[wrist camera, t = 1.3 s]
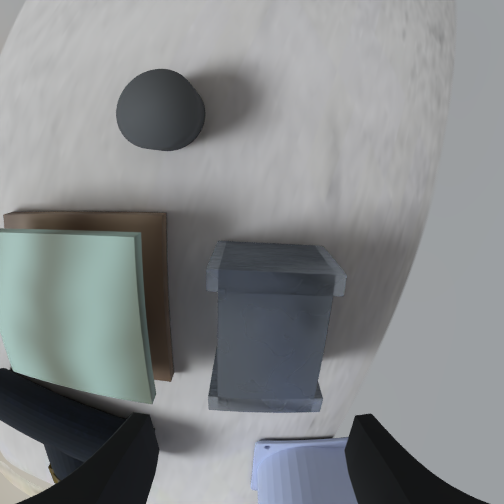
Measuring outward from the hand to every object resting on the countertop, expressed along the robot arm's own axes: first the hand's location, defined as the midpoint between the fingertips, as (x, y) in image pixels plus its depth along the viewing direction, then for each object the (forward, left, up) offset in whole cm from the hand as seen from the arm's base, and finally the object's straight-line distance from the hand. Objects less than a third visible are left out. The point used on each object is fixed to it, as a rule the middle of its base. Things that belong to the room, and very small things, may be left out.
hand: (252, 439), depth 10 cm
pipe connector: (+16, +14, -10) cm, 24 cm away
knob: (+5, -11, -10) cm, 16 cm away
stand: (+11, 0, -10) cm, 15 cm away
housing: (-1, 0, -10) cm, 10 cm away
